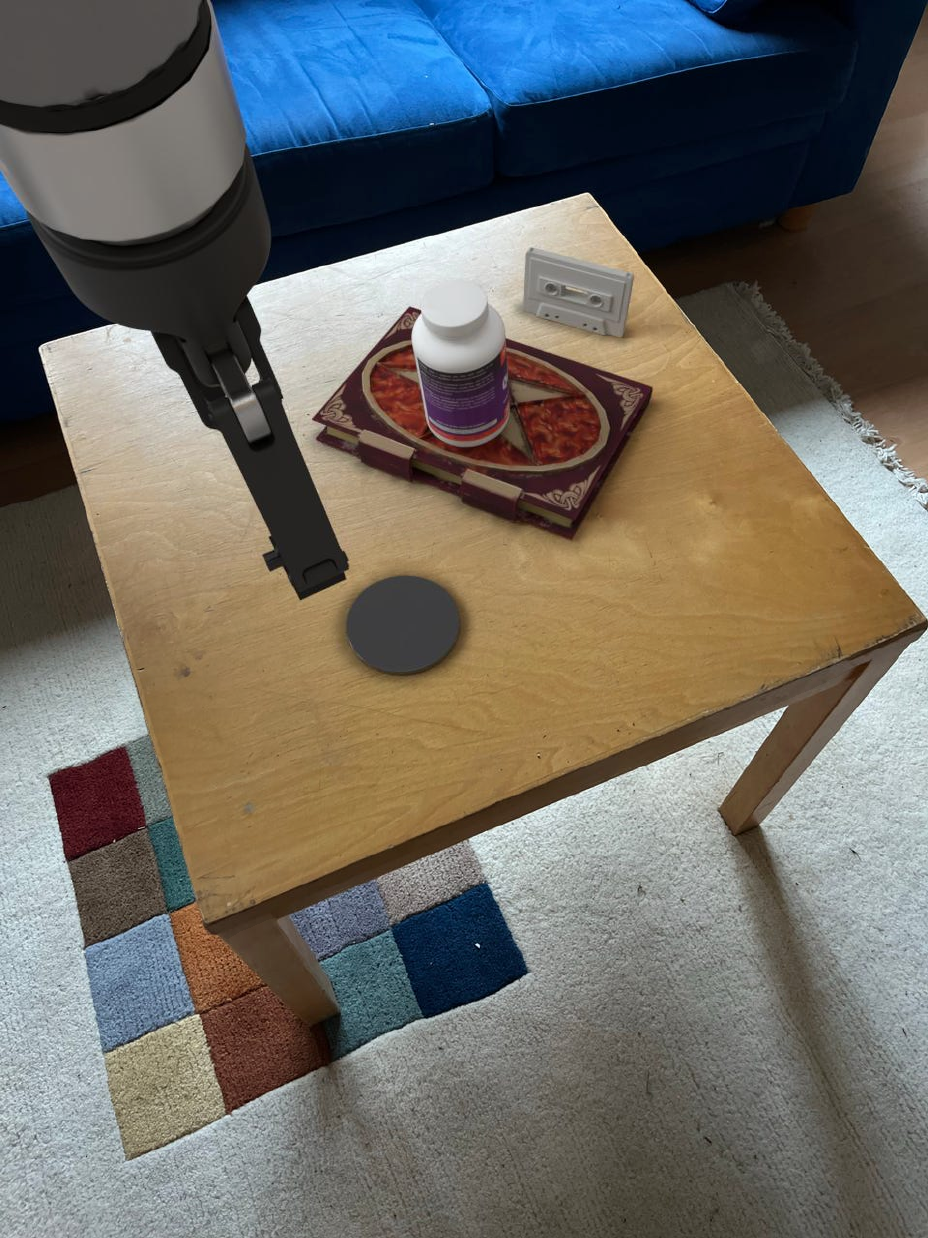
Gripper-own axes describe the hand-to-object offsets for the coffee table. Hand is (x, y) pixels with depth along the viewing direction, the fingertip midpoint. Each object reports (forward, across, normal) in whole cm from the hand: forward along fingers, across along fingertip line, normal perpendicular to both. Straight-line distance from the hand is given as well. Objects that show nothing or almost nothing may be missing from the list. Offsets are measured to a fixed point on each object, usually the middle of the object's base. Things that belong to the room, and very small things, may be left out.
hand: (271, 483), depth 48 cm
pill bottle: (+29, -15, +20) cm, 38 cm away
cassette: (+38, -26, +39) cm, 60 cm away
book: (+34, -17, +23) cm, 45 cm away
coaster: (+29, +1, +6) cm, 30 cm away
